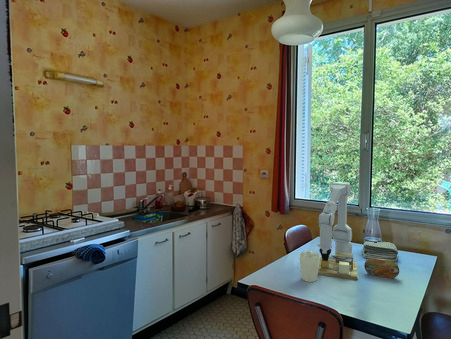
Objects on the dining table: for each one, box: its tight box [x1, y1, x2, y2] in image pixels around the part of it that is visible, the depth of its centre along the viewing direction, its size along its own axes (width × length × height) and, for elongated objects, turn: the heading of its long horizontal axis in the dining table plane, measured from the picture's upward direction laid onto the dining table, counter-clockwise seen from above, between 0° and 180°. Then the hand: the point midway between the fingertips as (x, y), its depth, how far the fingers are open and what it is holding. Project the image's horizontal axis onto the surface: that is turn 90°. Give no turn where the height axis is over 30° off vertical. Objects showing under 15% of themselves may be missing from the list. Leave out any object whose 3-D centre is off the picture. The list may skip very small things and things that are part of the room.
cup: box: [299, 250, 320, 283], centre depth 143 cm, size 9×9×12 cm
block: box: [339, 261, 349, 274], centre depth 148 cm, size 4×4×4 cm
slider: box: [321, 260, 351, 275], centre depth 150 cm, size 6×14×4 cm, turn 68°
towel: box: [361, 241, 399, 262], centre depth 178 cm, size 15×18×8 cm
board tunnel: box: [317, 252, 359, 281], centre depth 157 cm, size 22×19×8 cm
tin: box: [363, 258, 400, 279], centre depth 148 cm, size 15×3×8 cm, turn 62°
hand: (325, 263), depth 155 cm, fingers closed
